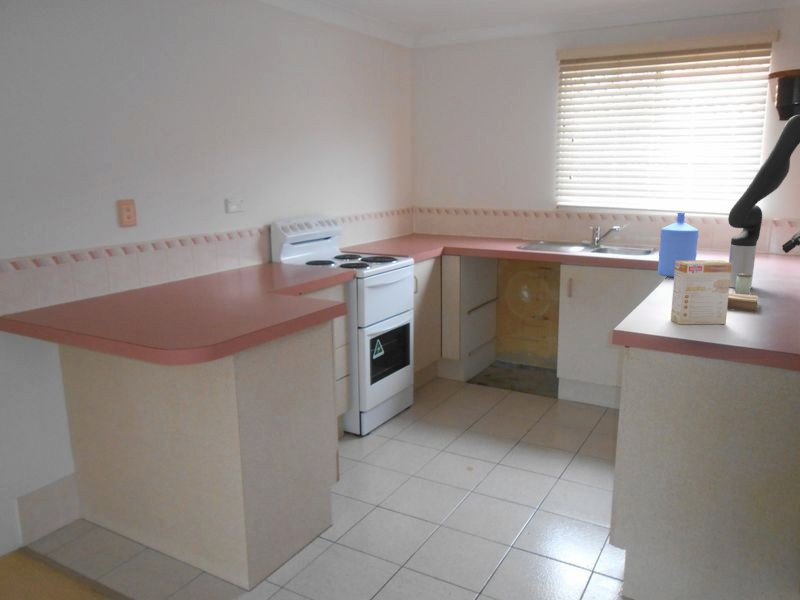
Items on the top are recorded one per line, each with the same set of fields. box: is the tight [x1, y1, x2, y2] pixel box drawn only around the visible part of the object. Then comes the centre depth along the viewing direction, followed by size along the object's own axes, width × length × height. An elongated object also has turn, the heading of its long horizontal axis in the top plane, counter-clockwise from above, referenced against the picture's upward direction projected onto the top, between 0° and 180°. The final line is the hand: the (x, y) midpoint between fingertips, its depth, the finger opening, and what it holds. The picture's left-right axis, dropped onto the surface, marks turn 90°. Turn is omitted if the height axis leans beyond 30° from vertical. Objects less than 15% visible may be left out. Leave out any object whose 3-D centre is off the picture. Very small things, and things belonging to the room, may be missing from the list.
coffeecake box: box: [670, 259, 732, 325], centre depth 207 cm, size 15×7×20 cm, turn 92°
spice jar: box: [734, 273, 752, 295], centre depth 241 cm, size 5×5×10 cm
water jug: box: [657, 212, 699, 278], centre depth 296 cm, size 16×16×28 cm
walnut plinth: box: [727, 292, 758, 313], centre depth 230 cm, size 10×10×4 cm
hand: (783, 249), depth 231 cm, fingers open, 8 cm apart
